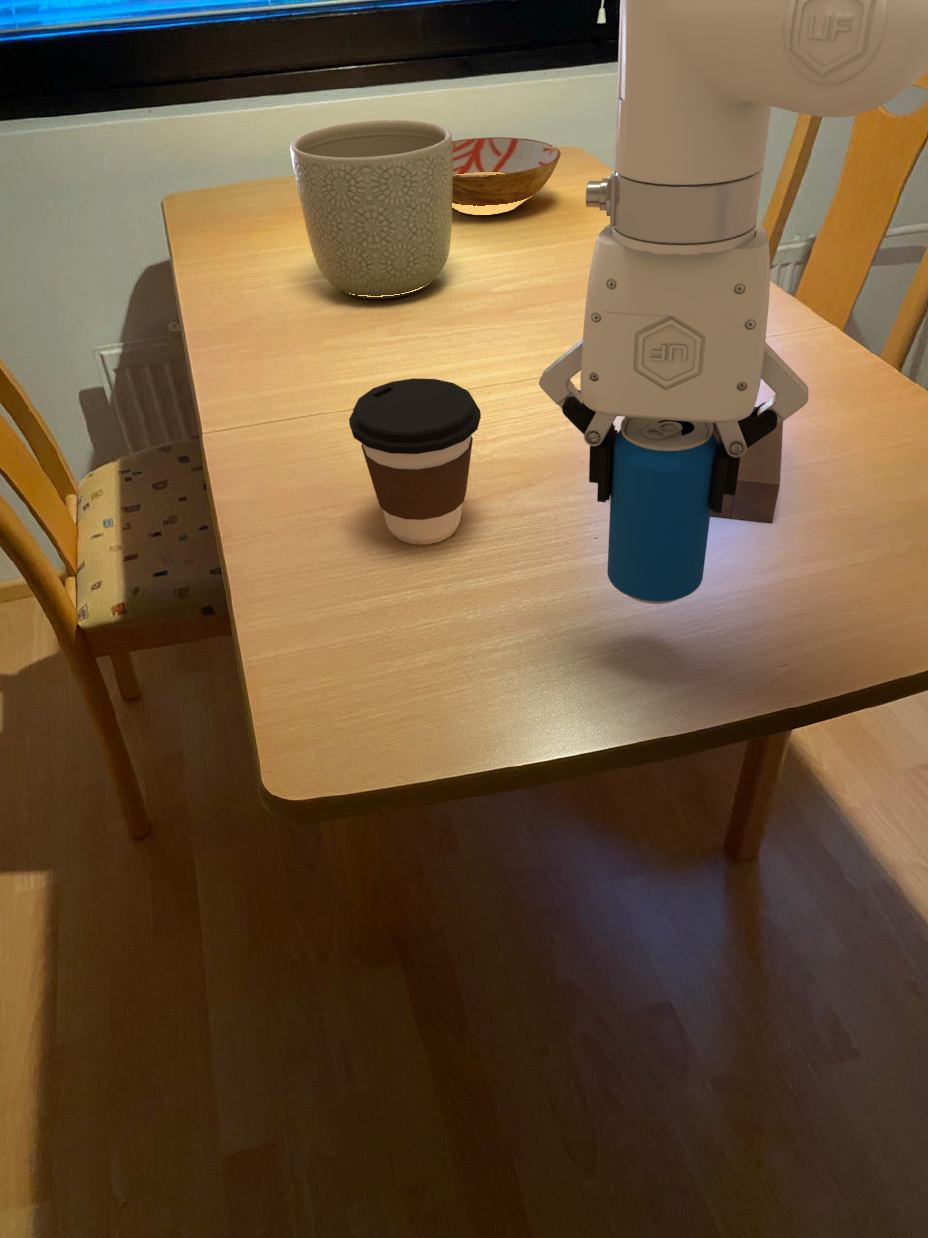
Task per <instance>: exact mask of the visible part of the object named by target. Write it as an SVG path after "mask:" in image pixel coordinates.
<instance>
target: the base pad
mask: <svg viewBox="0 0 928 1238" xmlns="http://www.w3.org/2000/svg"><path fill="white" fill-rule="evenodd" d="M756 407H757V406H754V409H755V408H756ZM754 409H753V410H754ZM713 427H714V429H713V434H714V435H715V437H716V439H717V441H718V443H719V438H721V436H720V433H719V431H718V428H717V426H716V423H713ZM783 430H784V420H783V421H782V422H780V423H779V424H778V425H777V426H776V428H775V429H774V430H773V431H772V432H770V433H769V434H767V435H766V436H764V437H763V438H762V439H760V440H759V441H757V442H756V443H754V444H753V445H752V446H750V447H749V448H747V451H746V453H745V454H744V455H743V456H741V457H740V464H739V471H738V478H737V485H736V492H735V495H723V502H722V510H721V513H713V510H711V514H710V517H717V518H726V519H734V520H743V521H750V522H759V523H769V524H772V523H773V522H774V517H775V511H776V506H777V501H778V495H779V491H780V486H781V470H782V451H783V450H782V449H783V433H784V431H783Z"/></svg>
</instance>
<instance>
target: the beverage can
mask: <svg viewBox="0 0 928 1238" xmlns="http://www.w3.org/2000/svg"><path fill="white" fill-rule="evenodd" d="M713 429H714V427H713V423H709V422H692V421H677V420H663V419H649V418H636V417H623V419H622V420H621V423H620V429H619V430H618V433H617V434H616V436H615V438H614V441H613V453H612V477H611V495H610V498H609V501H610V503H609V506H610V507H609V525H608V526H609V529H608V549H607V570H606V571H607V572H606V573H607V577H608V580H609V582H610V584H611V585H612V586H613V587H614V588H615V589H616V590H617V591H619V593H621V594H623V595H626V596H627V597H629V598H630V599H632V600H635V601H637V602H640V603H644V604H651V605H662V604H669V603H673V602H676V601H678V600H681V599H684V598H686V597H688V596H690V595H692V594H693V593H694V592H696V591H697V590H698V589H699V587H700V586H701V584H702V583H703V580H704V579H703V578H704V572H705V571H704V570H705V562H706V554H707V547H708V538H709V528H710V521H711V520H710V519H711V516H710V514H711V510H710V504H711V496H712V488H713V479H714V471H715V463H716V456H717V449H718V441H717V439H716V437H715V435H714V434H713Z"/></svg>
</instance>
